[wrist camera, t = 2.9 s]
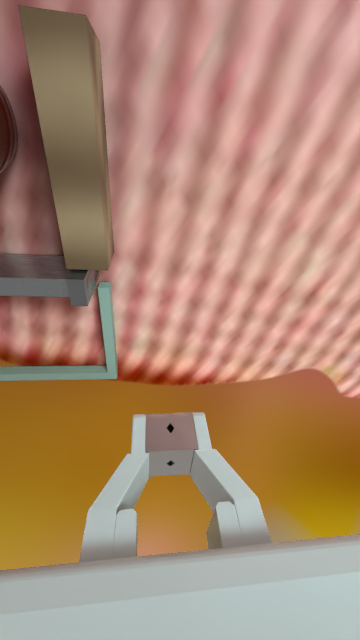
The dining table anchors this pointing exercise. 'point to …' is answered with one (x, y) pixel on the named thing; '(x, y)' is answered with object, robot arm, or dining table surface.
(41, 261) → the gate
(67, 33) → the wooden blocks
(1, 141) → the mug
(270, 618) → the robot arm
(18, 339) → the dining table surface
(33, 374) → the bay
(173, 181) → the dining table surface
